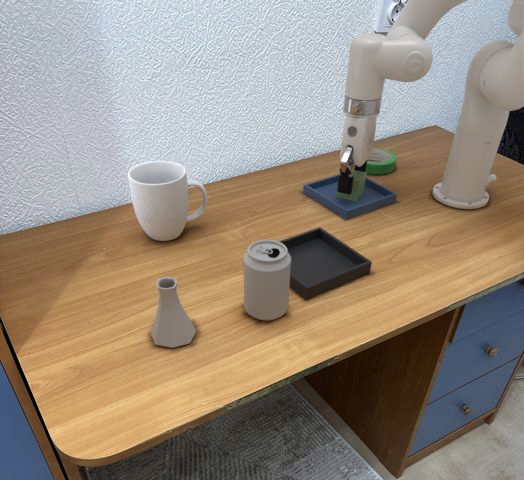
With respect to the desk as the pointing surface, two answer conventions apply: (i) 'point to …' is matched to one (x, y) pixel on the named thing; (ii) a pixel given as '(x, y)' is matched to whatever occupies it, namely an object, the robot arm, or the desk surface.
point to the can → (266, 279)
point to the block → (355, 187)
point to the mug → (162, 198)
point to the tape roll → (385, 162)
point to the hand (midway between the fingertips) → (351, 184)
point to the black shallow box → (322, 262)
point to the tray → (369, 200)
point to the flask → (171, 317)
